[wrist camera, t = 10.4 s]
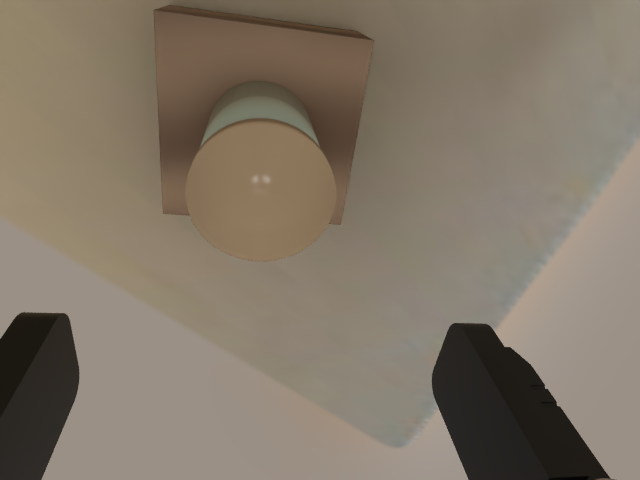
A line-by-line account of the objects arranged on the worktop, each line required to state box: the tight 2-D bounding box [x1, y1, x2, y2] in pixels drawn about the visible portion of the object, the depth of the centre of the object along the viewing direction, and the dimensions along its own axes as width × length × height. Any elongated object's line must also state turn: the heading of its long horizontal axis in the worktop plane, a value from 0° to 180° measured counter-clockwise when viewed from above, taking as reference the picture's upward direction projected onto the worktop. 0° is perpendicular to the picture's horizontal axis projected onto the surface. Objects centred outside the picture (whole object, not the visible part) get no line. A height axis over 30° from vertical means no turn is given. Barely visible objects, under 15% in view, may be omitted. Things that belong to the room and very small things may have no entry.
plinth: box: [154, 5, 374, 225], centre depth 24 cm, size 10×10×4 cm
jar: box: [185, 81, 336, 261], centre depth 19 cm, size 5×5×8 cm
